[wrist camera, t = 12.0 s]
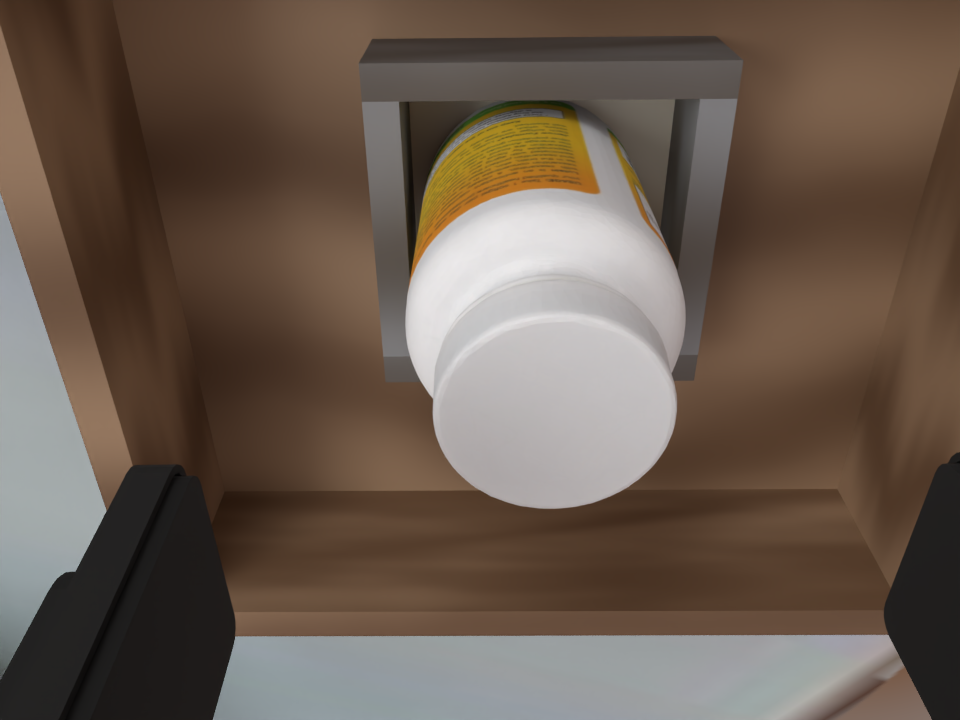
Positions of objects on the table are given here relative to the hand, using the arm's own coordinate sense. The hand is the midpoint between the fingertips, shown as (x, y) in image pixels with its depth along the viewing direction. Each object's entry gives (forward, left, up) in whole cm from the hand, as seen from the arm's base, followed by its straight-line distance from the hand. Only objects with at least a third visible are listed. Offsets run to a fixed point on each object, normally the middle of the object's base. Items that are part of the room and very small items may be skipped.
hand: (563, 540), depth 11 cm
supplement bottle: (0, 0, -13) cm, 13 cm away
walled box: (0, 0, -14) cm, 14 cm away
